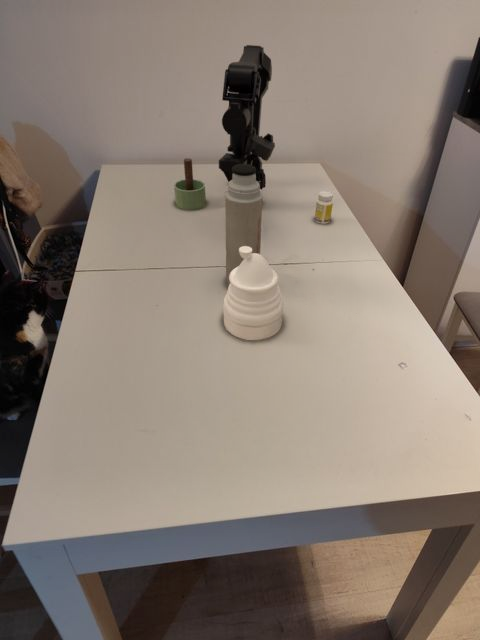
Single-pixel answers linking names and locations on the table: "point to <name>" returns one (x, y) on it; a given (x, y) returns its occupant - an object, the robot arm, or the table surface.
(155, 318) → the table surface
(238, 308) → the honey pot
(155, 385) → the table surface
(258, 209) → the thermos bottle
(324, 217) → the supplement bottle
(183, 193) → the jar
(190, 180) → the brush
